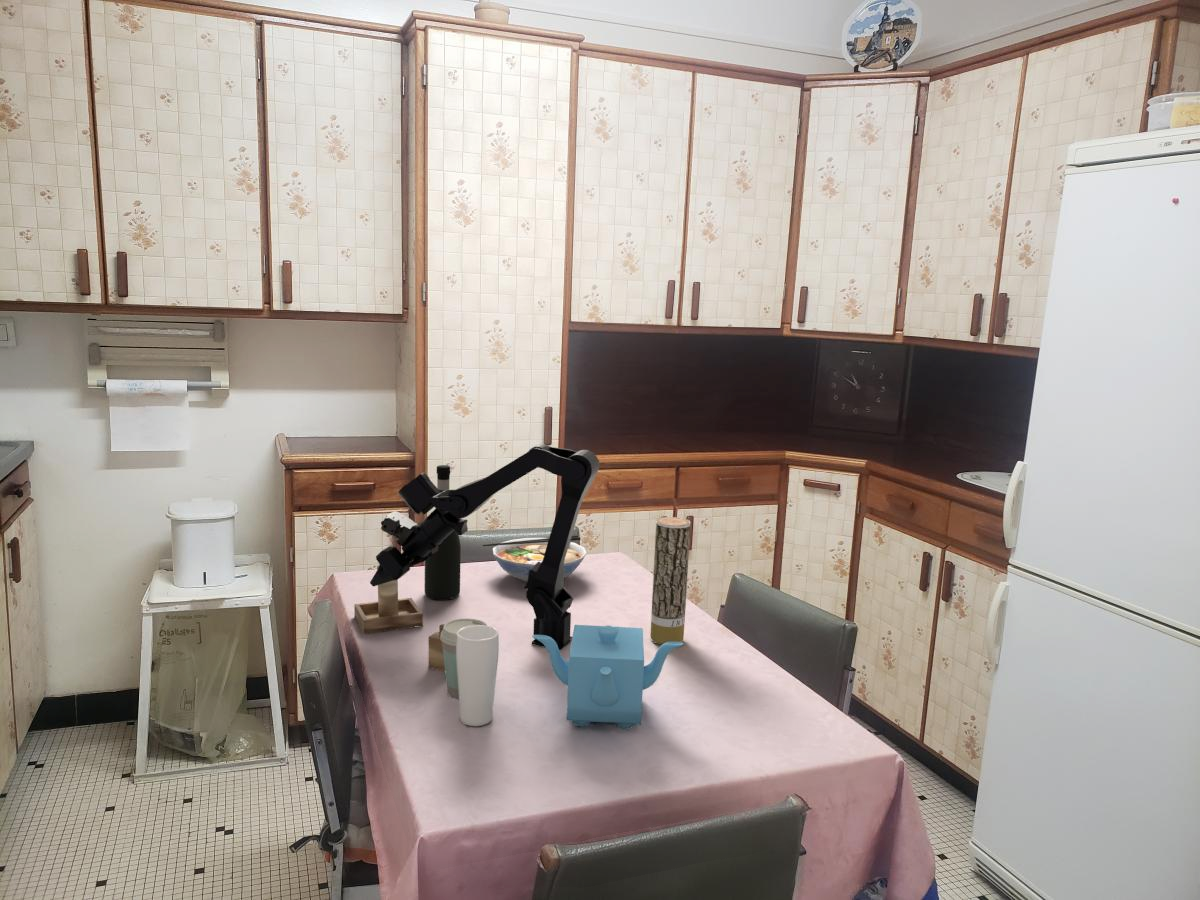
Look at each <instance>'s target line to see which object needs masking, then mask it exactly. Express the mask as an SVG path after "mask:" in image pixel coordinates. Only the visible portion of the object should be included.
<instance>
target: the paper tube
mask: <svg viewBox="0 0 1200 900" xmlns="http://www.w3.org/2000/svg"><path fill="white" fill-rule="evenodd" d="M654 537H655V538H654V542H655V543H654V558H653V561H654V562H653V575H652V576H653V577H652V578H653V579H652V595H651V599H652V600H651V611H650V612H651V615H650V617H651V618H650V637H649V638H650V639H651V641H652V642H654V643H655V644H657V645H660V646H661V645H663V644H664V643H666V642H682V643H683V641H684V637H685V636H684V635H685V623H686V622H685V621H686V620H685V619H686V607H687V606H686V605H687V589H688V588H687V587H688V575H689V574H688V572H689V571H688V570H689V556H690V539H691V520H689V519H686V518H684V517H678V516H677V517H674V516H665V517H664V516H663V517H659V518H657V519H656V522H655V536H654Z"/></svg>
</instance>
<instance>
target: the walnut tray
mask: <svg viewBox="0 0 1200 900" xmlns="http://www.w3.org/2000/svg"><path fill="white" fill-rule="evenodd" d="M353 607H354V619H355V621H356V622H357V624H358V625H359V628H360V629H361V632H362V633H363V634H365V635H366V634H374V633H382V632H389V631H396V629H398V630H404V629H403V628H406V629H411V628H410V627H414V628H416V627H415V626H422V627H424V613H423V611H422V610H421V609H420V607H419V606H418V604H417V603H416V602H415V600H414V599H413V598H412V597H406V598H400V599H399V598H398V615H394V616H385V617H379V611H378V601H372V602H371V601H370V602H363V603H361V602H360V603H354V604H353Z"/></svg>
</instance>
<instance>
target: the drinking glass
mask: <svg viewBox="0 0 1200 900" xmlns="http://www.w3.org/2000/svg"><path fill="white" fill-rule="evenodd" d="M499 639H500V638H499V631H498V630H497V629H496V628H495V627H493V626H488V625H487V626H485V625H472V626H466V627H463V628H461V629H459V630H458V631H457V637H456V666H457V679H458V692H459V699H458V701H459V703H458V705H459V720H460V722H461V723H462V724H463V725H467V726H469V727H482V726H485V725H487V724H489V723H490V722H491V721H492V720H493V717H494V702H495V701H494V700H495V693H496V692H495V689H496V682H497V674H498V665H499V664H498V663H499V650H500V649H499V646H500V643H499V642H500V641H499Z"/></svg>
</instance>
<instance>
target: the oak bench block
mask: <svg viewBox="0 0 1200 900" xmlns="http://www.w3.org/2000/svg"><path fill="white" fill-rule="evenodd" d="M445 624H446V623H442V624H440V625H439V626H438V627H439V629H438V630H439V631H436V632H434V633H432V634H431V635H429V636H428V653H427V655H428V656H427V657H428V662H427V663H428V665H427V666H428V667H427V668H428V669H432V668H433V670H436V669H438V670H437V671H441V672H445V665H444V655H443V646H442V641H441V639H440V636H441V632H442V630H443V627H444V625H445Z"/></svg>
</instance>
